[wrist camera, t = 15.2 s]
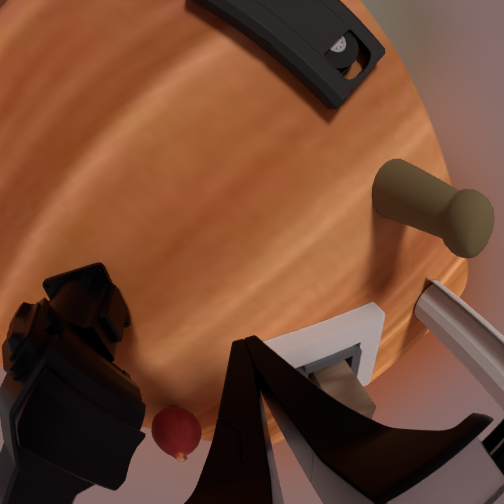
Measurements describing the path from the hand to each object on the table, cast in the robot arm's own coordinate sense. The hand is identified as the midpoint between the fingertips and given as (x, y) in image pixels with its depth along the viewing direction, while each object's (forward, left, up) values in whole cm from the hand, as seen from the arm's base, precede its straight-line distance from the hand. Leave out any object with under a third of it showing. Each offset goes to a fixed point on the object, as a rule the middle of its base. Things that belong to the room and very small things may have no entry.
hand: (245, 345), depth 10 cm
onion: (-10, -22, -13) cm, 27 cm away
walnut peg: (+9, -21, -13) cm, 26 cm away
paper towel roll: (+27, -18, -13) cm, 35 cm away
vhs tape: (+9, +15, -14) cm, 22 cm away
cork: (+18, -1, -13) cm, 22 cm away
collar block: (+9, -21, -13) cm, 26 cm away
